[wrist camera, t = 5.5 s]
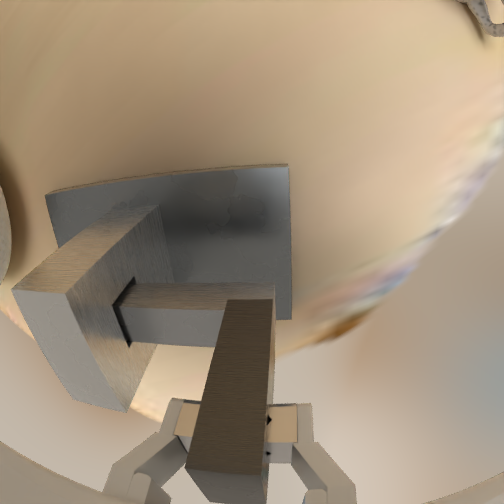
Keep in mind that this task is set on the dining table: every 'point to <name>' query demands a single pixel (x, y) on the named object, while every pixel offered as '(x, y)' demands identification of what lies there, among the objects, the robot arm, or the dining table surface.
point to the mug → (484, 17)
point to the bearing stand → (148, 262)
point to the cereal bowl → (4, 237)
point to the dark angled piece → (217, 374)
